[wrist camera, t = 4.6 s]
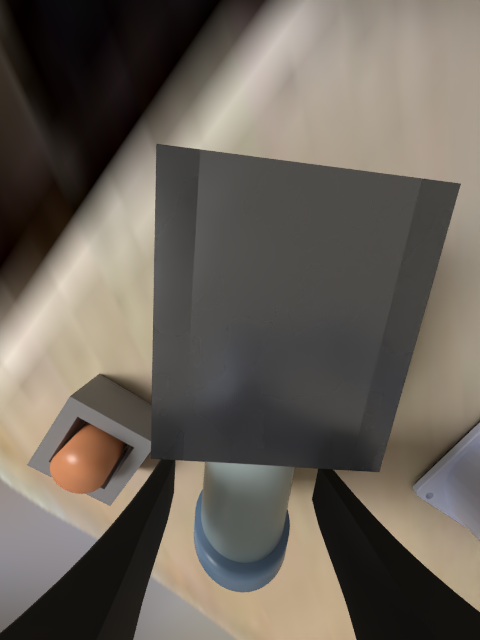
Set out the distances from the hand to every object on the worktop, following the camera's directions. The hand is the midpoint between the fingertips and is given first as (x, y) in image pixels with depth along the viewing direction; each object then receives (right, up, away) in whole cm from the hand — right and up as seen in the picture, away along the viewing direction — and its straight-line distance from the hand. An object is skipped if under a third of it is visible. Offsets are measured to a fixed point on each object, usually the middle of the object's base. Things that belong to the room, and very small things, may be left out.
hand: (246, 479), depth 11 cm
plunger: (-8, +1, +2) cm, 9 cm away
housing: (+1, +8, +2) cm, 9 cm away
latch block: (-8, +1, +3) cm, 9 cm away
